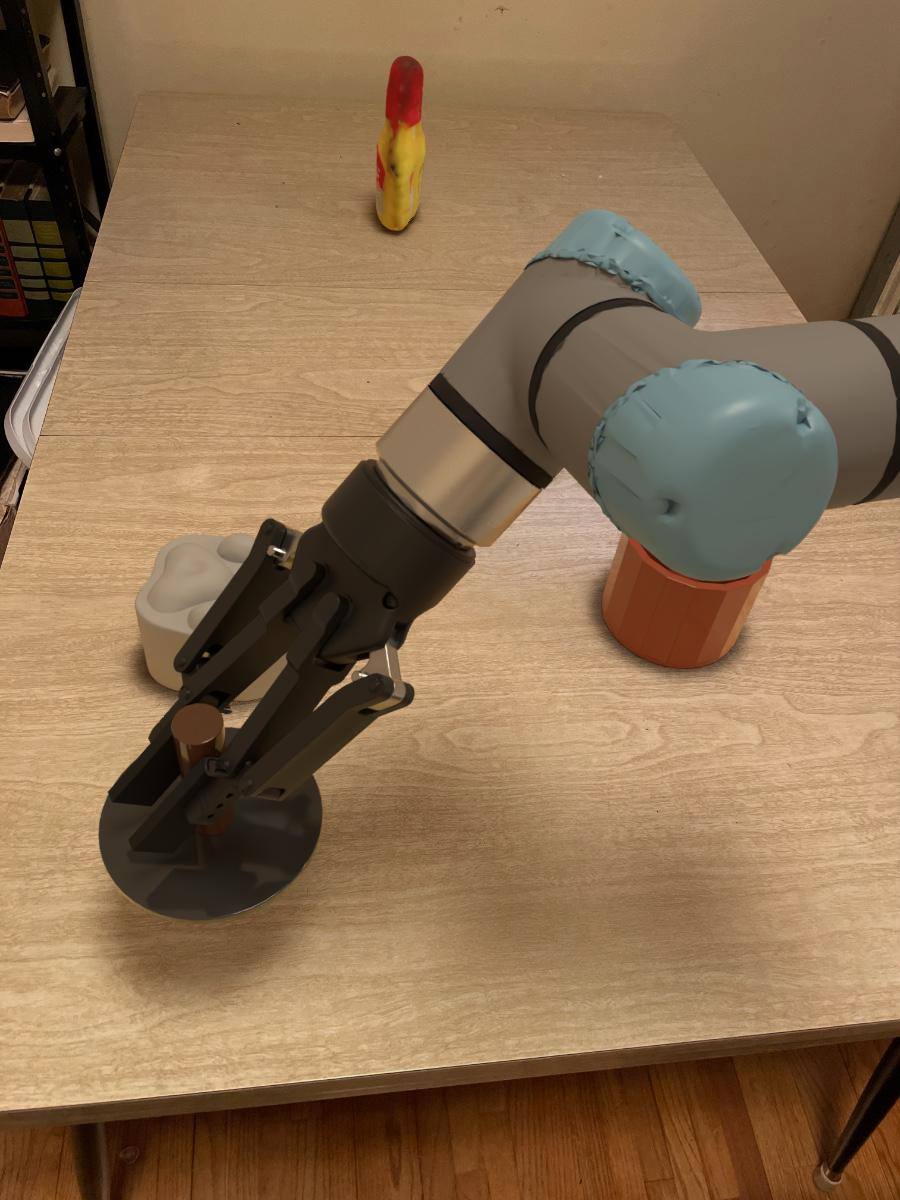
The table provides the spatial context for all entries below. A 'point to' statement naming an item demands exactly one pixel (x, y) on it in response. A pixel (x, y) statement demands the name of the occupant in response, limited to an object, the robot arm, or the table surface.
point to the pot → (674, 608)
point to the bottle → (401, 146)
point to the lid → (213, 841)
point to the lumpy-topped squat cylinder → (190, 602)
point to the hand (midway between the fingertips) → (140, 822)
